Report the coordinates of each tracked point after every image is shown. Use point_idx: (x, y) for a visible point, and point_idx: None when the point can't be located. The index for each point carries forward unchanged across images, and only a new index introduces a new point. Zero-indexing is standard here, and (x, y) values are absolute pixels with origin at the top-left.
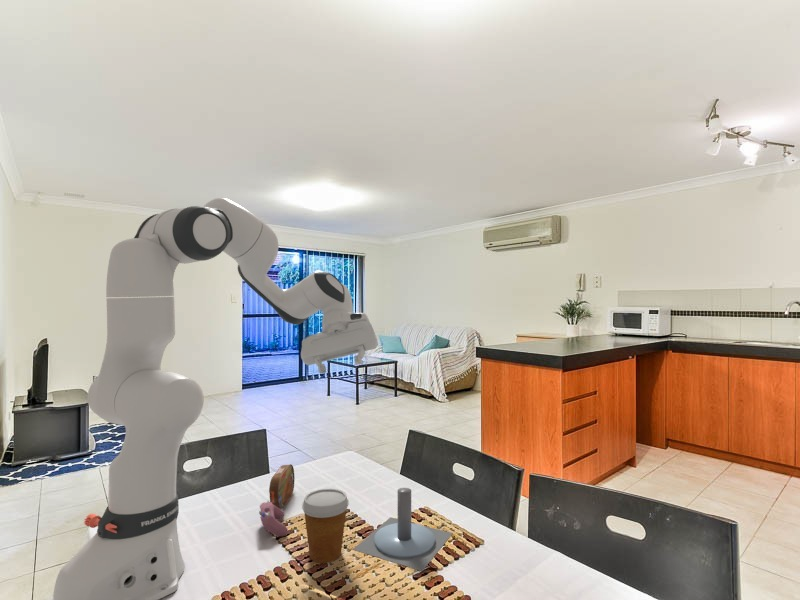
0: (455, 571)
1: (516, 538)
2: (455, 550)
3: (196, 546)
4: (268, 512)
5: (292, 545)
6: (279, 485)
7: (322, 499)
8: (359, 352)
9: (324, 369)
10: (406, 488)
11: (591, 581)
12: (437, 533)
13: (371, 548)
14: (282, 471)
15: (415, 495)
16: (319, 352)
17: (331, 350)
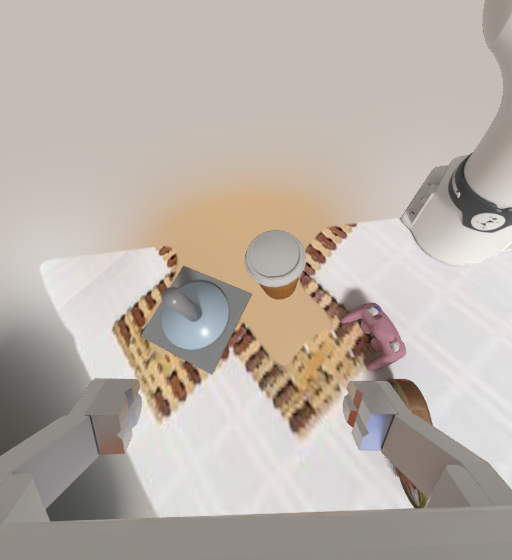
0: (155, 273)
1: (77, 335)
2: (146, 306)
3: (443, 288)
4: (372, 311)
5: (323, 301)
6: (402, 398)
7: (278, 253)
8: (53, 433)
9: (349, 388)
10: (167, 303)
11: (53, 272)
12: (157, 334)
13: (231, 296)
14: None
15: (170, 468)
16: (497, 525)
17: (340, 515)
